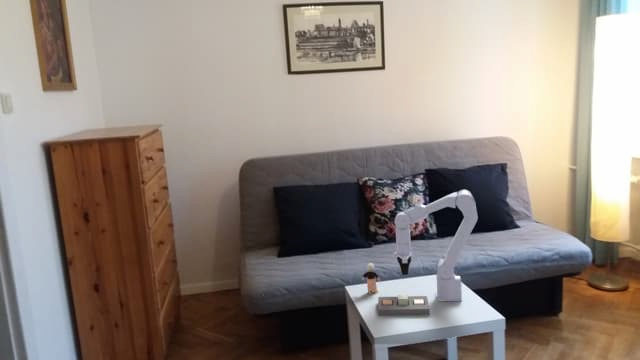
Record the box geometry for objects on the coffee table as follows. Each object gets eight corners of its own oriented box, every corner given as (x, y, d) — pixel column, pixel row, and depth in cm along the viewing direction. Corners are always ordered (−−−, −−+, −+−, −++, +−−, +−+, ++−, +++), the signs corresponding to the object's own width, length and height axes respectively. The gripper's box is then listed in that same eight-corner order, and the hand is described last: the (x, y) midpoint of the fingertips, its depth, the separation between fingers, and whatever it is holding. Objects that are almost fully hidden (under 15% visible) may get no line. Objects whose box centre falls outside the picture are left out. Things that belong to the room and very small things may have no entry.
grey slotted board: (427, 301, 200) (426, 295, 200) (429, 315, 188) (429, 308, 188) (378, 302, 203) (378, 296, 202) (378, 315, 191) (378, 309, 190)
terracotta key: (392, 306, 198) (391, 299, 197) (392, 310, 194) (392, 303, 194) (383, 306, 198) (382, 300, 198) (383, 310, 195) (382, 303, 194)
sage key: (407, 301, 197) (407, 295, 196) (408, 305, 193) (407, 298, 193) (398, 302, 197) (397, 295, 197) (398, 305, 194) (398, 299, 193)
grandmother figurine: (380, 290, 215) (379, 261, 213) (380, 293, 211) (379, 264, 209) (362, 290, 216) (360, 262, 214) (362, 294, 212) (360, 265, 210)
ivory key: (423, 306, 196) (423, 299, 196) (424, 310, 193) (424, 303, 192) (414, 306, 197) (413, 299, 196) (414, 310, 193) (414, 303, 193)
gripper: (392, 237, 211) (394, 268, 213) (393, 247, 197) (395, 281, 199) (410, 236, 210) (411, 268, 212) (412, 247, 196) (413, 280, 198)
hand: (404, 274), depth 205 cm, fingers closed
